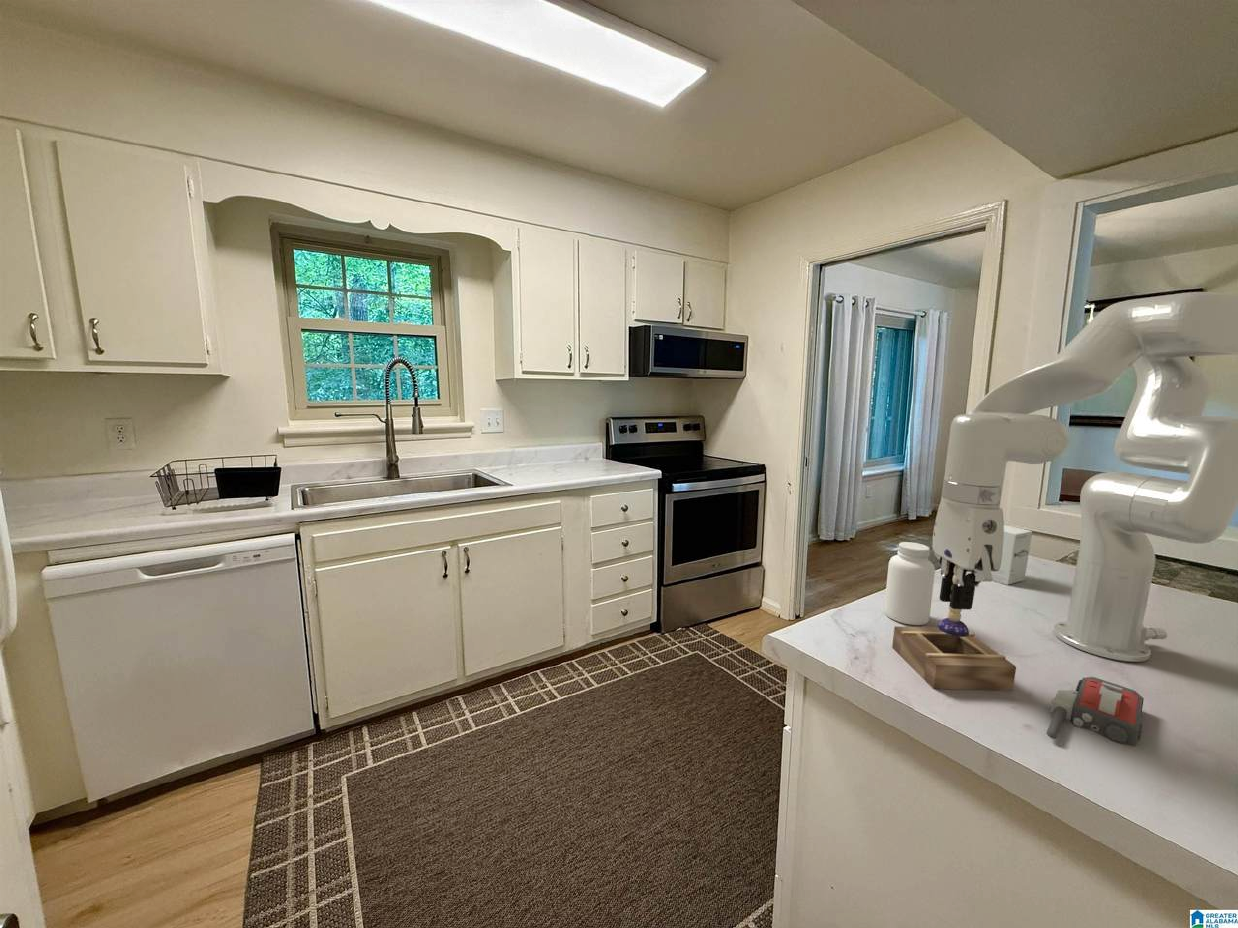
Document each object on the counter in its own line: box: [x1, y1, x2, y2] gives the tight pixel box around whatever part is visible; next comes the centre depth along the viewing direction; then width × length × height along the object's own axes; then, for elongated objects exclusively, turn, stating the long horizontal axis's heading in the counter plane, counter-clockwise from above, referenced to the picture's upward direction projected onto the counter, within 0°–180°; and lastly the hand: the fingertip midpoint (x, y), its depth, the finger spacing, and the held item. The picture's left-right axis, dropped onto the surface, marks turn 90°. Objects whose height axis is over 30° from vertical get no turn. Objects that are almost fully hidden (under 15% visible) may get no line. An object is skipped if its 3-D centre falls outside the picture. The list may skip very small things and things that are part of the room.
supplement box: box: [991, 524, 1033, 586], centre depth 119 cm, size 7×7×13 cm
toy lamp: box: [937, 549, 970, 637], centre depth 79 cm, size 5×5×17 cm
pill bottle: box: [883, 541, 936, 626], centre depth 98 cm, size 8×8×15 cm
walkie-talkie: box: [1046, 676, 1145, 747], centre depth 68 cm, size 9×4×20 cm
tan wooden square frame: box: [891, 626, 1017, 692], centre depth 81 cm, size 12×12×4 cm
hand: (955, 603), depth 79 cm, fingers closed on toy lamp
